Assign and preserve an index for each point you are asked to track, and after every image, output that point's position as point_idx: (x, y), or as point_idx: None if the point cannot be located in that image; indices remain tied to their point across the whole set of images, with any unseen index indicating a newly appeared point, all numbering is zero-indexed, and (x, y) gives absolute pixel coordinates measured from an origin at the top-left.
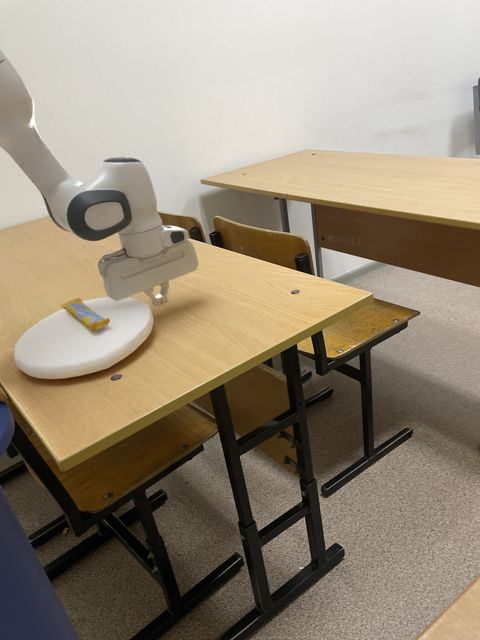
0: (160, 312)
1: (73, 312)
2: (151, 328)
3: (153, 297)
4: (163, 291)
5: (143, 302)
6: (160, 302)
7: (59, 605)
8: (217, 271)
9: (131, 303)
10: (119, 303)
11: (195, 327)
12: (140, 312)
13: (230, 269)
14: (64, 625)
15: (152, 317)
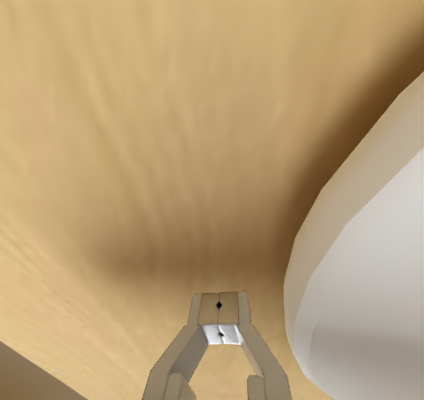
0: (222, 282)
1: None
2: (385, 116)
3: (253, 338)
4: (192, 349)
5: (306, 333)
6: (225, 300)
7: None
8: (63, 341)
9: (367, 356)
10: (416, 384)
11: (148, 91)
12: (419, 257)
13: (35, 333)
14: None
15: (335, 201)
